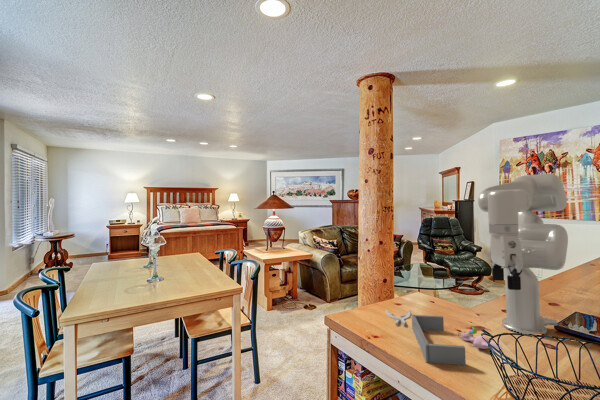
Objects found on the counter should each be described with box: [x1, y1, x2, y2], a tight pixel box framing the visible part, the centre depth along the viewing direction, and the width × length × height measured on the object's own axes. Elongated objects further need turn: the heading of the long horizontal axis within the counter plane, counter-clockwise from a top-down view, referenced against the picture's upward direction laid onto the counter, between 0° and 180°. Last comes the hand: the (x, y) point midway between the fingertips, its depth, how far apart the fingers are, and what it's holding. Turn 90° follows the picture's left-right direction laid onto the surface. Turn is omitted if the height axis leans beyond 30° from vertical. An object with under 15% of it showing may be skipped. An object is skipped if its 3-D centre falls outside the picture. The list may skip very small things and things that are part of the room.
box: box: [411, 314, 467, 366], centre depth 91 cm, size 10×22×5 cm, turn 168°
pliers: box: [385, 308, 411, 327], centre depth 113 cm, size 10×2×15 cm
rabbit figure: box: [457, 326, 503, 351], centre depth 89 cm, size 6×6×15 cm
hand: (505, 284), depth 87 cm, fingers open, 9 cm apart
